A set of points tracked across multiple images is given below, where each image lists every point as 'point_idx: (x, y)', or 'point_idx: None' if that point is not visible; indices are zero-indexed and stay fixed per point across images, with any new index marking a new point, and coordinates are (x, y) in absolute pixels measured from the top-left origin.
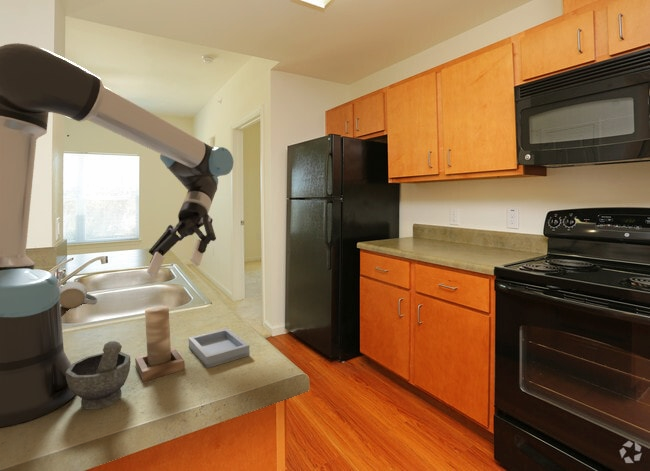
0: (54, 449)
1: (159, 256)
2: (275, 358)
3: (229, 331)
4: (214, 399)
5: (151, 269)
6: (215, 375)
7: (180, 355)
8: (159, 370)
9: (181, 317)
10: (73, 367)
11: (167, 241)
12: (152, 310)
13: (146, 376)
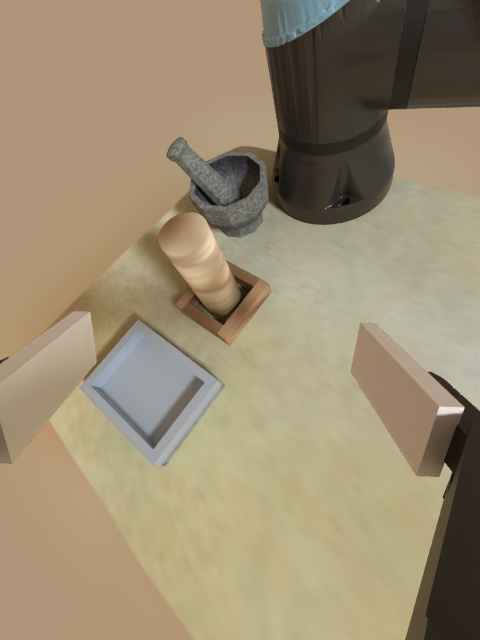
0: None
1: (416, 421)
2: None
3: (141, 446)
4: (107, 270)
5: (365, 340)
6: (127, 315)
7: (191, 316)
8: None
9: None
10: (254, 161)
11: (446, 522)
12: (188, 225)
13: None
